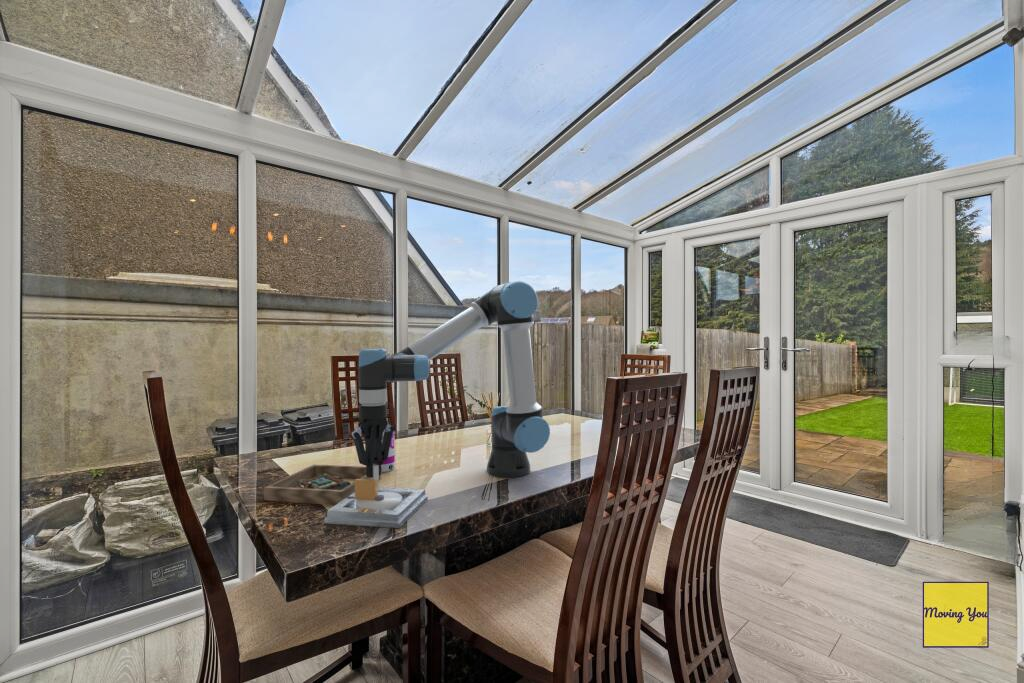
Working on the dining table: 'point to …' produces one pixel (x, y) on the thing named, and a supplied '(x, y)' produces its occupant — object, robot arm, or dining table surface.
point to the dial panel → (394, 518)
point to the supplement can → (389, 457)
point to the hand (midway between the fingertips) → (373, 488)
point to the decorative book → (324, 482)
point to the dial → (374, 496)
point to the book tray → (287, 493)
